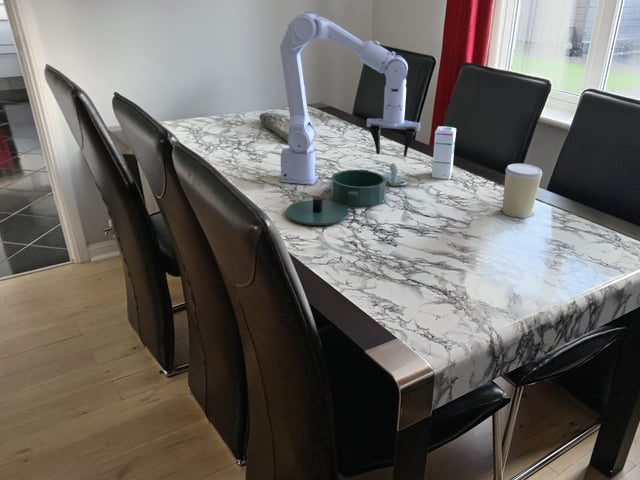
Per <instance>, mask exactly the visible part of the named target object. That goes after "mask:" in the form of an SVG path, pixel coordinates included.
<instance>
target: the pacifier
mask: <svg viewBox="0 0 640 480" xmlns="http://www.w3.org/2000/svg"><path fill="white" fill-rule="evenodd" d="M389 171H390V172H385V173H383V176H384V177H385V178H386V183H387V182H388V184H389V185H390V186H395V187H397V186H406V185H408V182H407V181H406V180H405V179H403V178H402V177H400V176H398V175H397V174H398V168H397V165H396V164H395V163H391V164H390V165H389Z"/></svg>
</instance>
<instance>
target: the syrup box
mask: <svg viewBox="0 0 640 480" xmlns="http://www.w3.org/2000/svg"><path fill="white" fill-rule="evenodd" d="M456 134H457V128H456V127H453V126H443V125H442V126H440V125H439V126H437V128H436V129H435V132H434V141H433V142H434V143H433V154H432V156H433V157H432V167H431V178H433V179H439V180H440V179H441V180H450V179H451V177H452V174H453V165H454V154H455V146H456V145H455V144H456Z"/></svg>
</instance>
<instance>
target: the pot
mask: <svg viewBox="0 0 640 480" xmlns="http://www.w3.org/2000/svg"><path fill="white" fill-rule="evenodd" d="M386 190H387V181H386V178H385V177H384V174H380V173H379V172H375V171H371V170H369V169H362V168H361V169H346V170H340V171H338V172H335V173H333V174H332V175H331V177H330V197H331V199H332V201H333V202H336V203H339V204H341V205H343V206H345V207H351V208H369V207H370V208H371V207H375V206H379V205H381V204H382V203H384V201H385V199H386V194H387V193H386V192H387V191H386Z"/></svg>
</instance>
